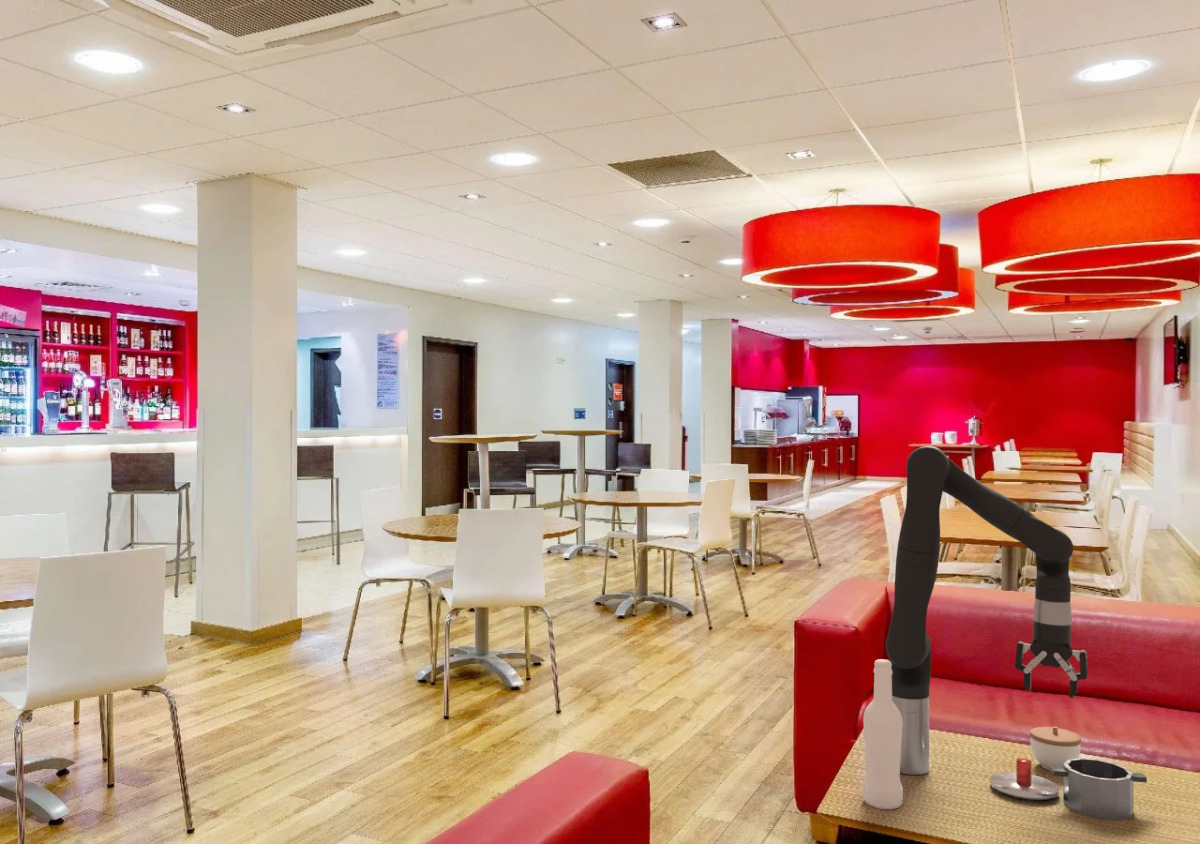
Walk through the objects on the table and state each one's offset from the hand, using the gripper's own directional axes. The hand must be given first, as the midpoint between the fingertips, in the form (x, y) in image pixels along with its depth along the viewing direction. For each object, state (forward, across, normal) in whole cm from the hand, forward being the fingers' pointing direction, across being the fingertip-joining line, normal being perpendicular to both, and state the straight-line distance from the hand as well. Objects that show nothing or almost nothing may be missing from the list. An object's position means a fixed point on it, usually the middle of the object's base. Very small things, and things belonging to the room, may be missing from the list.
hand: (1050, 693), depth 202 cm
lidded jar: (+21, 0, +14) cm, 25 cm away
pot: (+20, +10, -6) cm, 24 cm away
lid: (+21, -4, -5) cm, 22 cm away
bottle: (+22, -29, -28) cm, 46 cm away
